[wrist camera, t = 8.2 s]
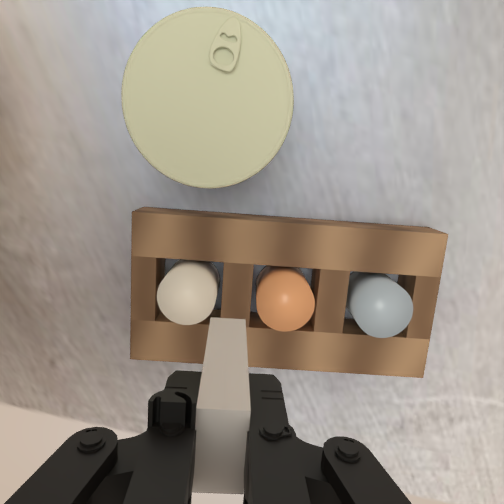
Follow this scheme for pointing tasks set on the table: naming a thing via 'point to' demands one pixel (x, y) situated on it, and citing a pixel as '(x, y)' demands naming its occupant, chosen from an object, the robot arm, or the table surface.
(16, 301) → the table surface
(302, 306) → the orange egg
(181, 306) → the white egg
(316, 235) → the wooden egg holder
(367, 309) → the blue-grey egg
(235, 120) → the can
